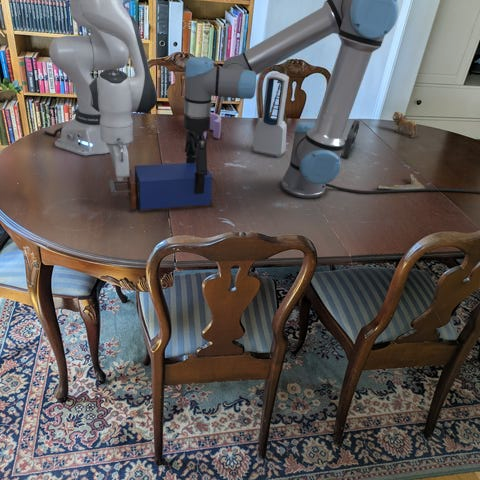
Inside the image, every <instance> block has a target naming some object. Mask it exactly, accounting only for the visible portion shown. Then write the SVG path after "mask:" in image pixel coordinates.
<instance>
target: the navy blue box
mask: <svg viewBox="0 0 480 480" xmlns="http://www.w3.org/2000/svg"><path fill="white" fill-rule="evenodd" d="M195 172H196V163H186V162H182V163H181V162H180V163H161V164H159V163H158V164H143V165H142V164H141V165H134V181H135V190H136V203H137V205H138V208H139V211H140V213H147V212H160V211H173V210H184V209H196V208H197V209H198V208H209V207H211V206H212V189H213V175H212V173H211V172H210V171H209V169H208V168H207V175H205V178H204V193H199V194H195V193H194V190H195V175H194V173H195ZM137 177H138V180H139V188H140V201H139V198H138V195H137Z"/></svg>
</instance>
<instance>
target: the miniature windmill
mask: <svg viewBox="0 0 480 480" xmlns="http://www.w3.org/2000/svg"><path fill="white" fill-rule="evenodd" d="M288 66H289V58H287V59H286V64H285V67H282V66H279V65H277V64H276V65H274V66H273V71H275V72H276V71H278V72H279V71H281V70H282V74H285V75H287V74H288V68H289V67H288ZM276 83H277V84H278V87H277V90H276V93H275V97H274V101H273V103H272V105H271V108H270V116H269V117H270V118H272V117H276V118H277V115H274V114H273V112H274V110H277V111H278V108H275V107H278V104H276V102H277V100H279V96H280V95H279V92H280V89H281V82H280V81H278V80H277V81H276ZM288 83H290V80H289V81H288ZM286 108H287V106H286V105H285V109H284V116H283V121H284V122H285V123H286V124H287V116H286V115H287V113H286Z"/></svg>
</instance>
